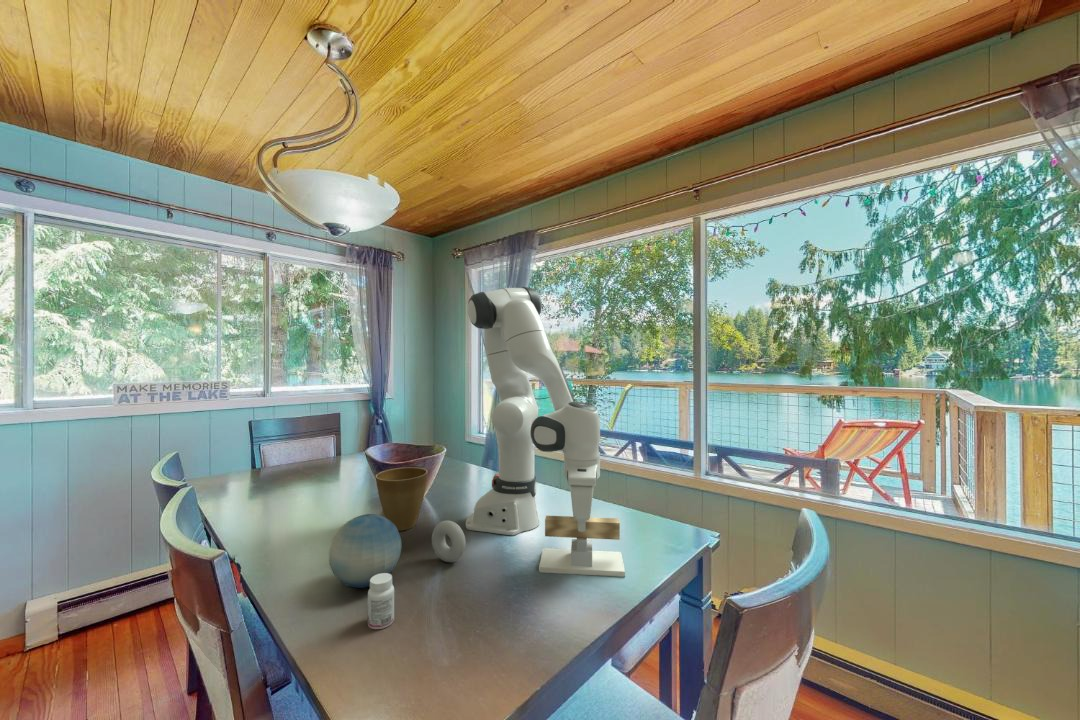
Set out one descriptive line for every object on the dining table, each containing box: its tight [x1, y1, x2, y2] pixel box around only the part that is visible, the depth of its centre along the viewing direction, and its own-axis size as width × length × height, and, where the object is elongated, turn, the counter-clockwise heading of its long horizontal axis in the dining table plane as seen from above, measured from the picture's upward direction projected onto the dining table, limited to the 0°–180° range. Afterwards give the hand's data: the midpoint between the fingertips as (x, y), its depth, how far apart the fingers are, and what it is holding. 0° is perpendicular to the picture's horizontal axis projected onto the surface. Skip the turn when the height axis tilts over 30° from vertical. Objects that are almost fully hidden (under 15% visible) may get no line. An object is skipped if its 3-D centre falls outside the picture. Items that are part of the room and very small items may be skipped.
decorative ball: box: [328, 513, 402, 589], centre depth 94 cm, size 15×15×15 cm
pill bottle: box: [367, 573, 395, 630], centre depth 80 cm, size 5×5×8 cm
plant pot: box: [375, 466, 428, 532], centre depth 126 cm, size 15×15×16 cm
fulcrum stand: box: [538, 538, 626, 578], centre depth 103 cm, size 20×10×7 cm, turn 84°
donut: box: [431, 520, 467, 563], centre depth 104 cm, size 10×3×10 cm, turn 61°
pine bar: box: [544, 515, 621, 541], centre depth 103 cm, size 18×3×4 cm, turn 84°
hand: (581, 525), depth 103 cm, fingers open, 5 cm apart
